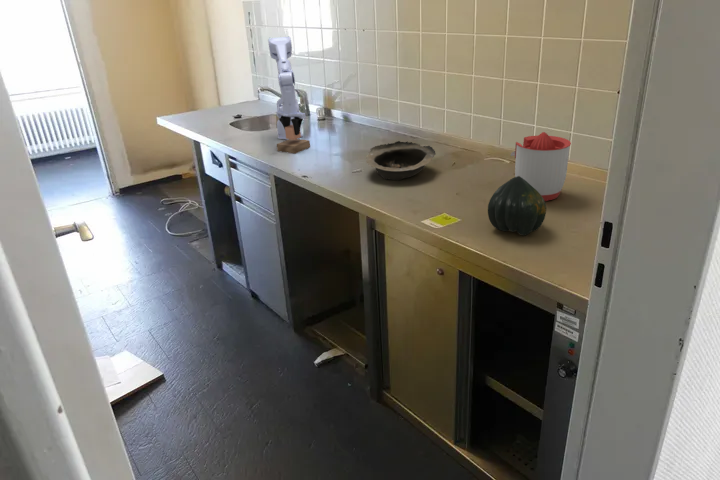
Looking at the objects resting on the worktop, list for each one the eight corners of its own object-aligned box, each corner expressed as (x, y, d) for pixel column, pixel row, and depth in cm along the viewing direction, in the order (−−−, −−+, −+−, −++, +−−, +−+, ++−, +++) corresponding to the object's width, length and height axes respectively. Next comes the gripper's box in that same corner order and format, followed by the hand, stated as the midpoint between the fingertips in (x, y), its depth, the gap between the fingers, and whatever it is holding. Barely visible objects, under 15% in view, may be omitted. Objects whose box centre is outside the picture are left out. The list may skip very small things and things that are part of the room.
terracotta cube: (286, 138, 231) (284, 127, 229) (293, 136, 234) (291, 124, 232) (294, 139, 229) (292, 128, 227) (301, 137, 232) (299, 125, 230)
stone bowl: (414, 158, 210) (415, 136, 205) (446, 182, 189) (448, 157, 185) (355, 168, 202) (355, 145, 198) (382, 193, 182) (382, 168, 177)
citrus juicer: (520, 182, 179) (524, 122, 171) (572, 191, 169) (580, 128, 161) (498, 197, 169) (501, 134, 160) (553, 208, 158) (560, 141, 150)
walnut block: (277, 151, 233) (276, 144, 231) (292, 145, 240) (291, 138, 239) (295, 154, 227) (294, 146, 226) (310, 148, 235) (309, 140, 233)
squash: (513, 229, 135) (541, 176, 135) (469, 214, 146) (495, 166, 147) (539, 250, 144) (564, 200, 144) (495, 235, 155) (519, 189, 156)
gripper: (269, 102, 226) (273, 134, 232) (296, 105, 218) (299, 138, 224) (281, 99, 231) (284, 130, 237) (307, 101, 223) (310, 133, 229)
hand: (292, 134), depth 231 cm, fingers closed on terracotta cube, 4 cm apart
